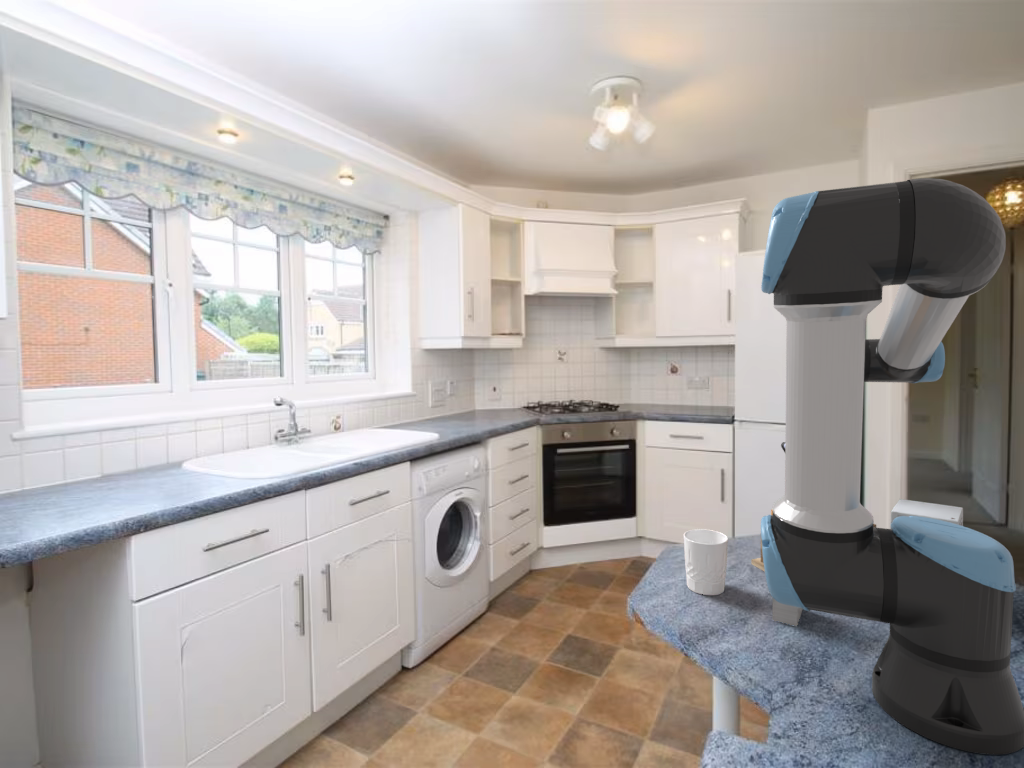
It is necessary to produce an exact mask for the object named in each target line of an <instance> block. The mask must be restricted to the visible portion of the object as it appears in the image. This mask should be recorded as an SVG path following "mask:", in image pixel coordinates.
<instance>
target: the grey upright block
mask: <svg viewBox="0 0 1024 768" xmlns="http://www.w3.org/2000/svg"><path fill="white" fill-rule="evenodd" d="M771 597H772V596H771ZM771 601H772V602H771V603H772V606H771V607H772V609H771V610H772V615H771V616H772V617H771V621H772V620H774V621H773V622H776V621H779V622H778V623H780V622H783V623H782V624H784V623H787V624H786V625H788V624H790V625H789V626H791V625H794V626H793V627H795V626H797V625H799V623H798V622H800V620H799V619H801V616H802V614H803V610H804V609H803V608H799V607H794V606H789V605H785V604H781V603H779V602H777V601H776V600H775V599H774V598H773V597H772V600H771ZM797 627H798V626H797Z"/></svg>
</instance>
